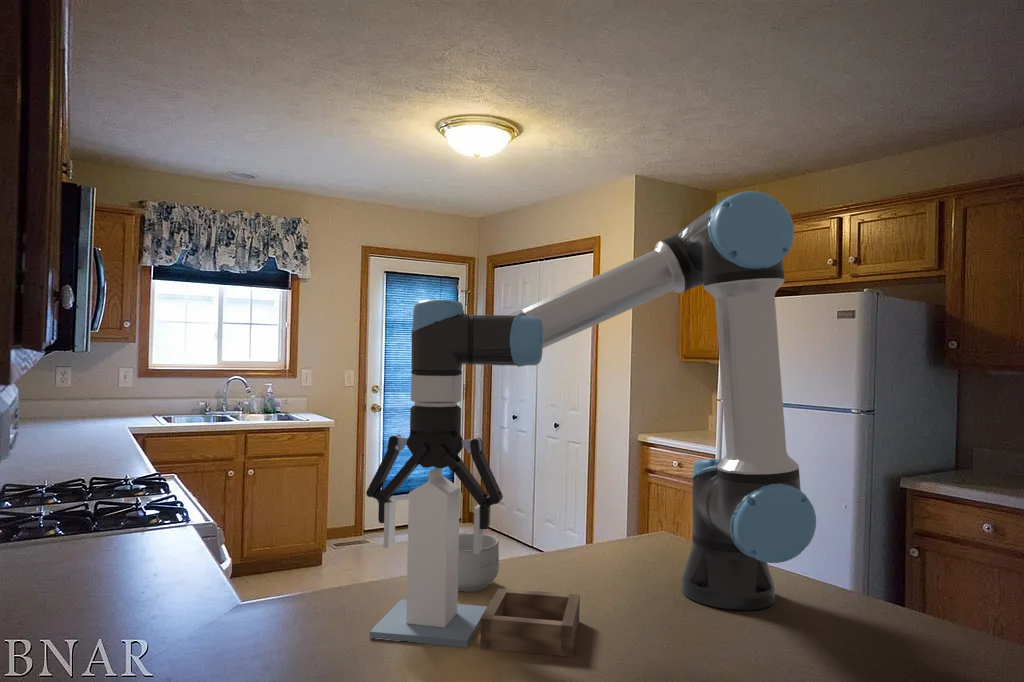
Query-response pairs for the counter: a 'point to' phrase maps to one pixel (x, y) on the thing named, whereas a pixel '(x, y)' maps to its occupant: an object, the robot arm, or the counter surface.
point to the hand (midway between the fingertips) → (433, 548)
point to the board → (431, 627)
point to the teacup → (477, 562)
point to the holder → (531, 622)
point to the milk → (433, 552)
